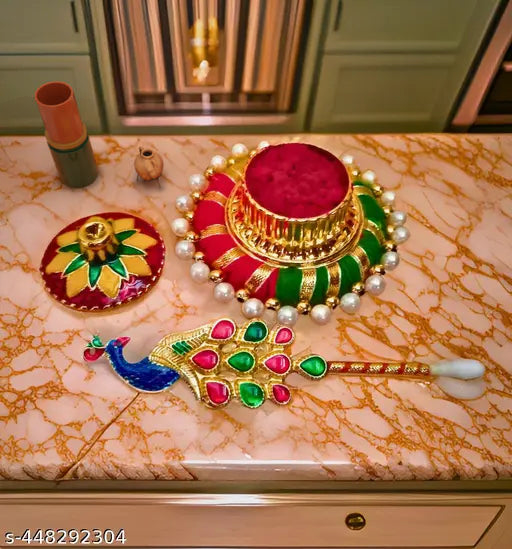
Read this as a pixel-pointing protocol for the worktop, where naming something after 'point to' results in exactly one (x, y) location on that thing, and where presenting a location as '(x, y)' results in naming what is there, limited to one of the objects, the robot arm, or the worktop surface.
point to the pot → (148, 165)
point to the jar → (74, 161)
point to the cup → (59, 112)
